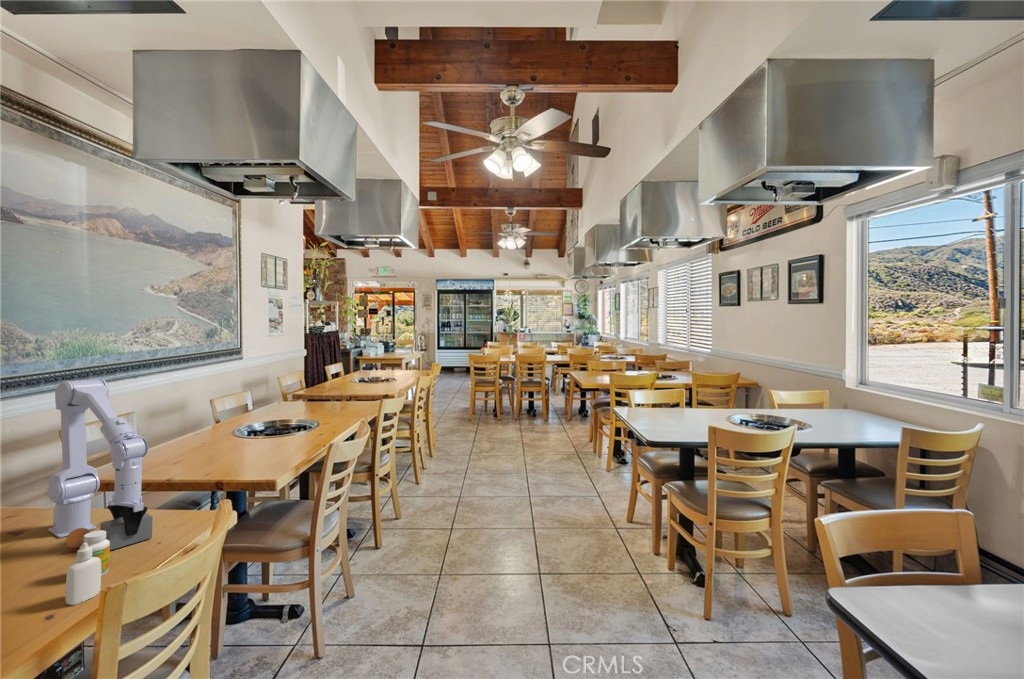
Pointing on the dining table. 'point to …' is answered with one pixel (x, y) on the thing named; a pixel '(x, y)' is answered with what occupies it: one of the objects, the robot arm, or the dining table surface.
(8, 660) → the dining table surface
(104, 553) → the supplement bottle
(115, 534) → the gray block
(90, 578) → the eye dropper bottle
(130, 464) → the robot arm
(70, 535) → the brown egg
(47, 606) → the dining table surface
